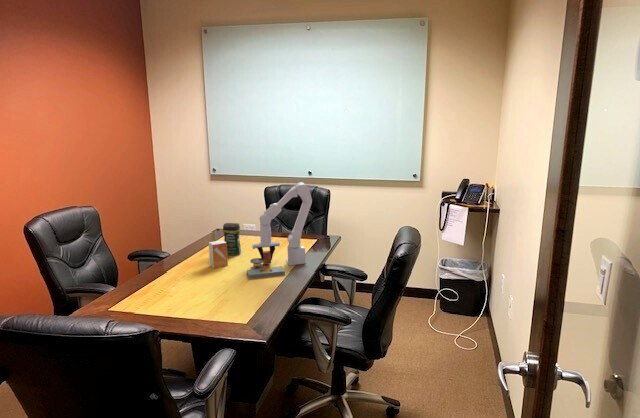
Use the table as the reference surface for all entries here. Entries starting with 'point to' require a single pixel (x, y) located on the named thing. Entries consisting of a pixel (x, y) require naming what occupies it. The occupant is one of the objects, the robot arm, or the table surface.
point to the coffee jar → (232, 238)
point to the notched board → (257, 274)
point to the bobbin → (257, 263)
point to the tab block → (267, 257)
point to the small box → (218, 254)
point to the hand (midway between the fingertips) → (266, 260)
